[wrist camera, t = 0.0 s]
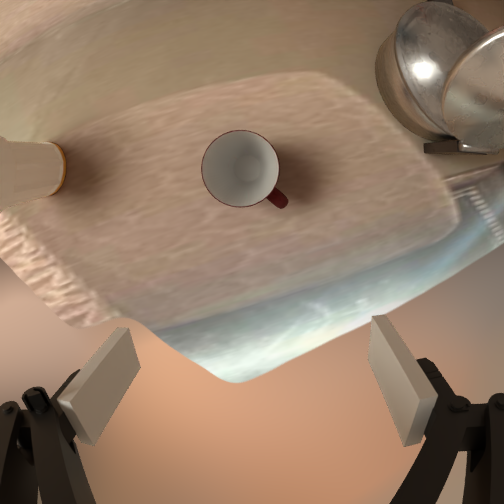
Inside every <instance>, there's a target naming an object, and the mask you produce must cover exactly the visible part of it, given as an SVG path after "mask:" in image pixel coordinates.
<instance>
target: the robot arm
mask: <svg viewBox="0 0 504 504" xmlns="http://www.w3.org/2000/svg"><path fill="white" fill-rule="evenodd" d="M369 344H370V345H369V354H368V361H369V363H370V365H371V368H372V370H373V372H374V375H375V377H376V379H377V382H378V384H379V386H380V389H381V391H382V394H383V396H384V398H385V401H386V403H387V406H388V408H389V411H390V413H391V416H392V418H393V420H394V423H395V426H396V428H397V431H398V433H399V436H400V438H401V441H402V444H403V446H404V447H406V446H410V445H414V444H418V443H420V442H421V440H422V437H423V435H425V437H426V440H425V442H424V444H423V446H422V449H421V451H420V452H419V454H418V456H417V458H416V460H415V462H414V464H413V466H412V467H411V469H410V471H409V473H408V474H407V476H406V478H405V480H404V481H403V483H402V485H401V486H400V488H399V489H398V491H397V493H396V494H395V496H394V497H393V499H392V501H391V502H390V504H435V503H436V502H437V500H438V498H439V495H440V493H441V491H442V489H443V487H444V485H445V482H446V480H447V478H448V475H449V473H450V471H451V469H452V466H453V464H454V461H455V458H456V456H457V453H458V451H467V465H466V477H465V487H464V495H463V502H462V504H504V393H497V394H494V395H493V396H491V398H490V399H489V401H488V403H486V404H471V403H470V401H469V400H468V399H467V398H464V397H462V396H457V395H455V394H454V392H453V390H452V389H451V388H450V386H449V384H448V383H447V382H446V380H445V379H444V377H442V374H441V373H440V371H438V368H437V367H436V366H435V364H434V363H433V362H431V361H430V360H428V359H427V358H422V359H417V360H416V359H415V358H414V356H413V355H412V353H411V352H410V350H409V349H408V347H407V346H406V344H405V343H404V341H403V340H402V338H401V337H400V335H399V334H398V332H397V331H396V329H395V328H394V326H393V325H392V323H391V322H390V320H389V319H388V318H387V316H386V315H377V316H372V322H371V333H370V343H369ZM140 368H141V367H140V364H139V361H138V357H137V354H136V351H135V348H134V344H133V341H132V337H131V334H130V330H129V328H117V329H116V330H115V331H114V332H113V333H112V334H111V335H110V337H109V338H108V339H107V340H106V341H105V342H104V343H103V345H102V346H101V347H100V348H99V349H98V350H97V351H96V353H95V354H94V355H93V356H92V357H91V359H90V360H89V361H88V362H87V363H86V364H85V366H84V367H83V368H82V369H81V370H80V369H79V370H77V371H76V372H74V373H73V374H71V375H70V376H69V378H68V379H67V380H66V382H64V383H63V385H62V386H61V387H60V388H59V390H58V391H57V392H56V393H55V394H54V395H53V397H52V398H51V399H49V397H48V395H47V393H46V391H45V389H44V388H42V387H33V388H30V389H28V390H27V391H26V392H24V394H23V395H22V400H23V402H24V403H25V405H26V407H27V409H28V410H21V409H20V407H19V405H18V404H17V403H16V402H14V401H9V402H6V403H4V404H2V405H1V406H0V504H37V498H38V486H39V491H40V496H41V500H42V504H96V502H95V499H94V497H93V494H92V492H91V489H90V486H89V484H88V481H87V478H86V475H85V472H84V469H83V466H82V463H81V459H80V456H79V453H78V450H77V447H76V443H75V442H74V440H73V438H74V437H75V435H77V436H78V438H79V439H80V441H81V443H85V444H89V445H92V446H95V444H96V442H97V440H98V439H99V437H100V435H101V434H102V432H103V430H104V428H105V427H106V425H107V423H108V422H109V420H110V418H111V416H112V415H113V413H114V411H115V409H116V408H117V406H118V405H119V403H120V401H121V399H122V398H123V396H124V394H125V393H126V391H127V389H128V388H129V386H130V384H131V383H132V381H133V379H134V378H135V376H136V374H137V373H138V371H139V370H140ZM17 443H18V445H17Z"/></svg>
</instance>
